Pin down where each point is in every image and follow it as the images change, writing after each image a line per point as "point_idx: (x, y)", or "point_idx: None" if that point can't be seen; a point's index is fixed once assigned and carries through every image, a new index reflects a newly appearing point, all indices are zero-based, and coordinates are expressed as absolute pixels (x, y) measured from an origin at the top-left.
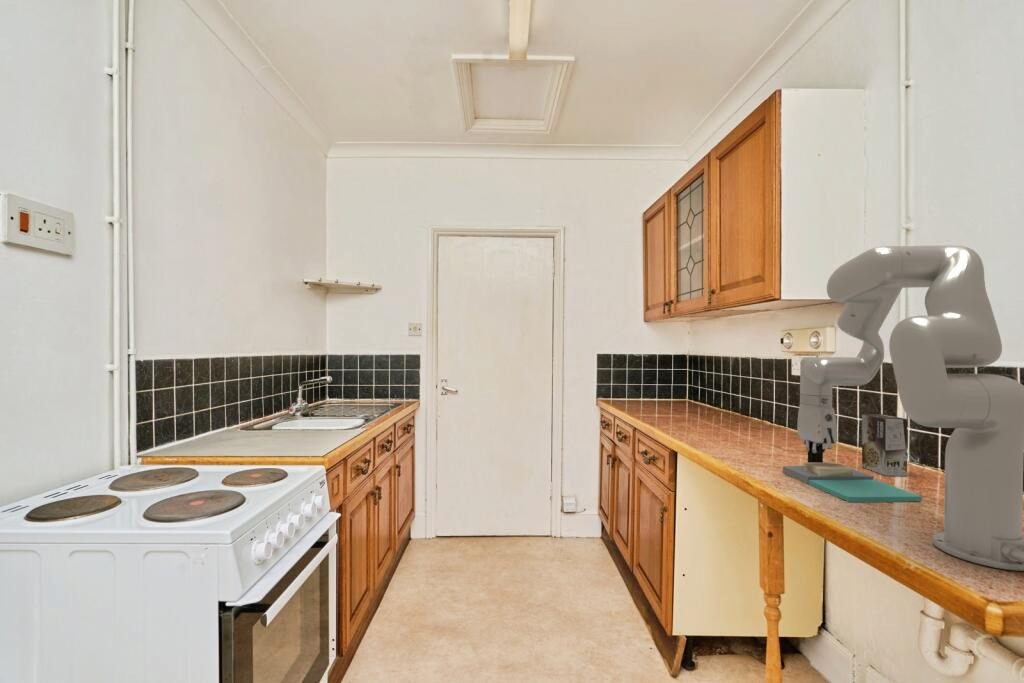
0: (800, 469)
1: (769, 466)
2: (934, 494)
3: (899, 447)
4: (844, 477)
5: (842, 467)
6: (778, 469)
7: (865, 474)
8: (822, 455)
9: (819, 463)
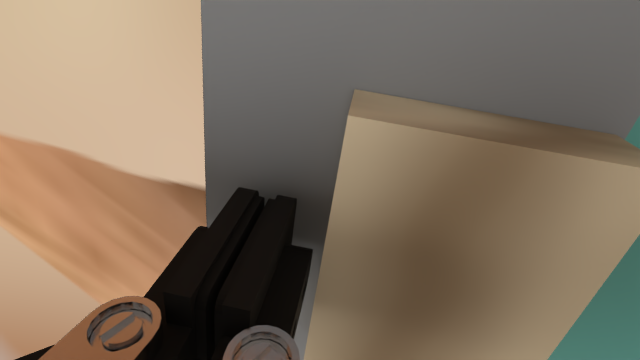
0: (298, 346)
1: (86, 285)
2: None
3: None
4: None
5: (569, 254)
6: (148, 290)
7: None
8: (261, 281)
9: (351, 319)
